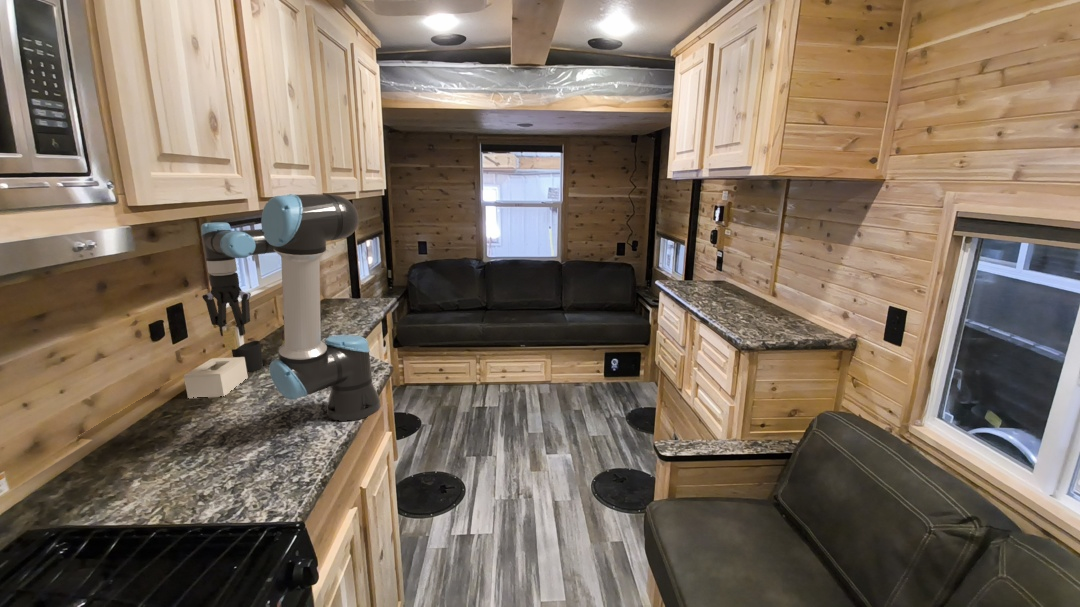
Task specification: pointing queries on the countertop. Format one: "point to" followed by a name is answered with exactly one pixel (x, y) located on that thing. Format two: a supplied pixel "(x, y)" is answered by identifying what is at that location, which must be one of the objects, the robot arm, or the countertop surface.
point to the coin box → (215, 377)
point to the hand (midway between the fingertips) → (234, 345)
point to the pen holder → (250, 355)
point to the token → (230, 338)
